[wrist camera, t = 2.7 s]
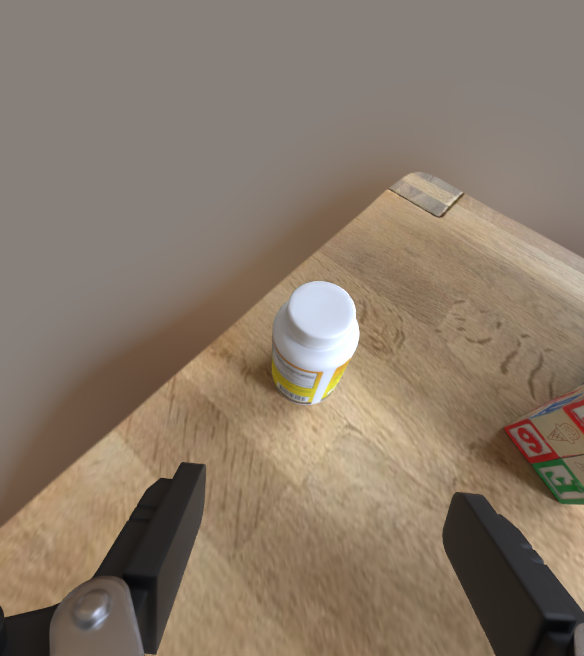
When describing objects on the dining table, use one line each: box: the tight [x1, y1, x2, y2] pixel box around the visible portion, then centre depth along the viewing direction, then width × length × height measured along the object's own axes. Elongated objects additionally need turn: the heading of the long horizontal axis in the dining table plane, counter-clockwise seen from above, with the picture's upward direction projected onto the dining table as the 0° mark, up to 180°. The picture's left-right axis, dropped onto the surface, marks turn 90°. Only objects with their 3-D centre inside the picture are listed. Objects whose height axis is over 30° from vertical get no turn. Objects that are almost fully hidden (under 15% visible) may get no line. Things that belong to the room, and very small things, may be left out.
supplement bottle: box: [272, 281, 359, 405], centre depth 23 cm, size 6×6×10 cm
